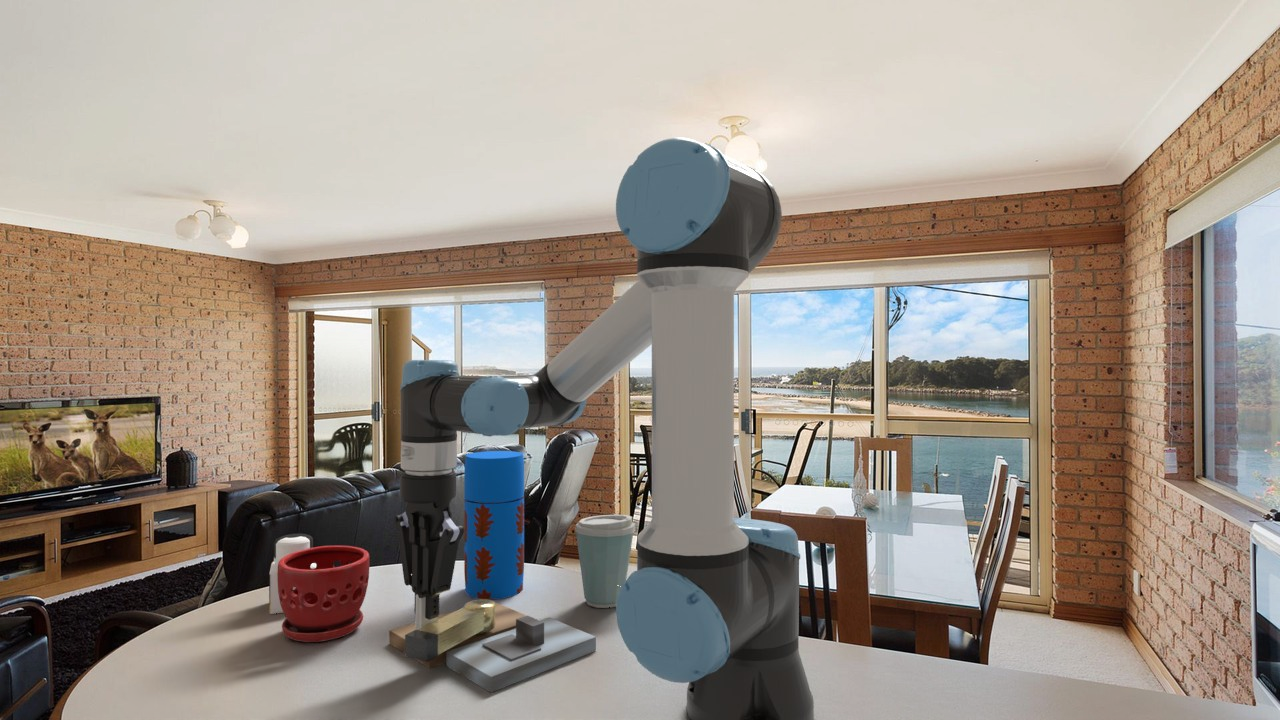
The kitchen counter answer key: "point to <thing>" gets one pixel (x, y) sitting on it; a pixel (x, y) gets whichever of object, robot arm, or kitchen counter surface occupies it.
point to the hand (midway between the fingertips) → (426, 639)
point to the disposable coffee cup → (604, 556)
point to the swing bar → (450, 630)
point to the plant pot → (322, 592)
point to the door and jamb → (508, 648)
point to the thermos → (494, 524)
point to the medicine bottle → (281, 549)
